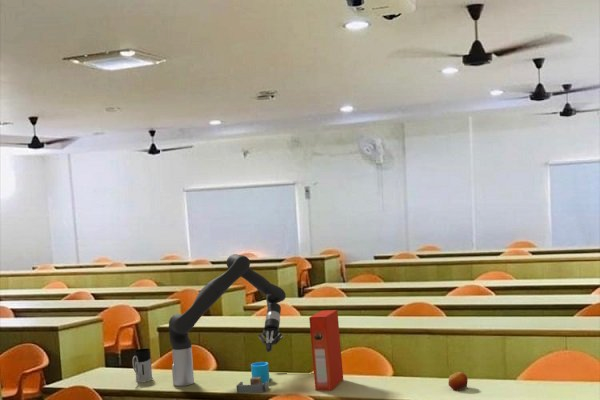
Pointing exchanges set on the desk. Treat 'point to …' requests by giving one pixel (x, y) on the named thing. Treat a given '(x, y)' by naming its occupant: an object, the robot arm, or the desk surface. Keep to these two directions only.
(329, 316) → the file binder
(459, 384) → the fruit
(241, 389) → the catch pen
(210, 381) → the desk surface
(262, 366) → the mug
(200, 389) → the desk surface
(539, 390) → the desk surface
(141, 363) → the grey handled cylinder
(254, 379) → the tile
